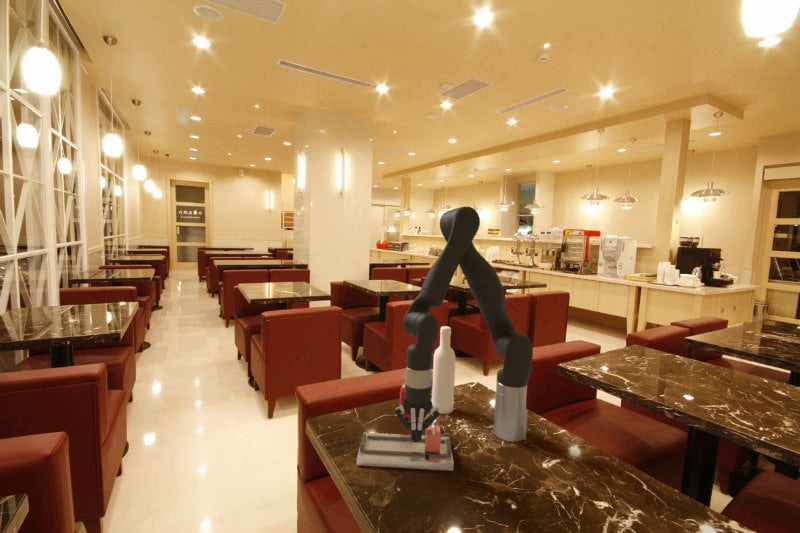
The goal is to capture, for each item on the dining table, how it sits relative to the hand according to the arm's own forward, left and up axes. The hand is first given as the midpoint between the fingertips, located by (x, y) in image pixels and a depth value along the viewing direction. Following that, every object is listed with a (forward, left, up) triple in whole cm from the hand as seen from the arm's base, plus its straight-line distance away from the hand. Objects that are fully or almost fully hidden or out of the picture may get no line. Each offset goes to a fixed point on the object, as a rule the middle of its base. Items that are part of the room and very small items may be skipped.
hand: (416, 440), depth 106 cm
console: (+3, 0, -4) cm, 5 cm away
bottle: (-10, -29, -4) cm, 30 cm away
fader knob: (-5, 0, -2) cm, 5 cm away
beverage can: (+2, -20, -4) cm, 20 cm away
